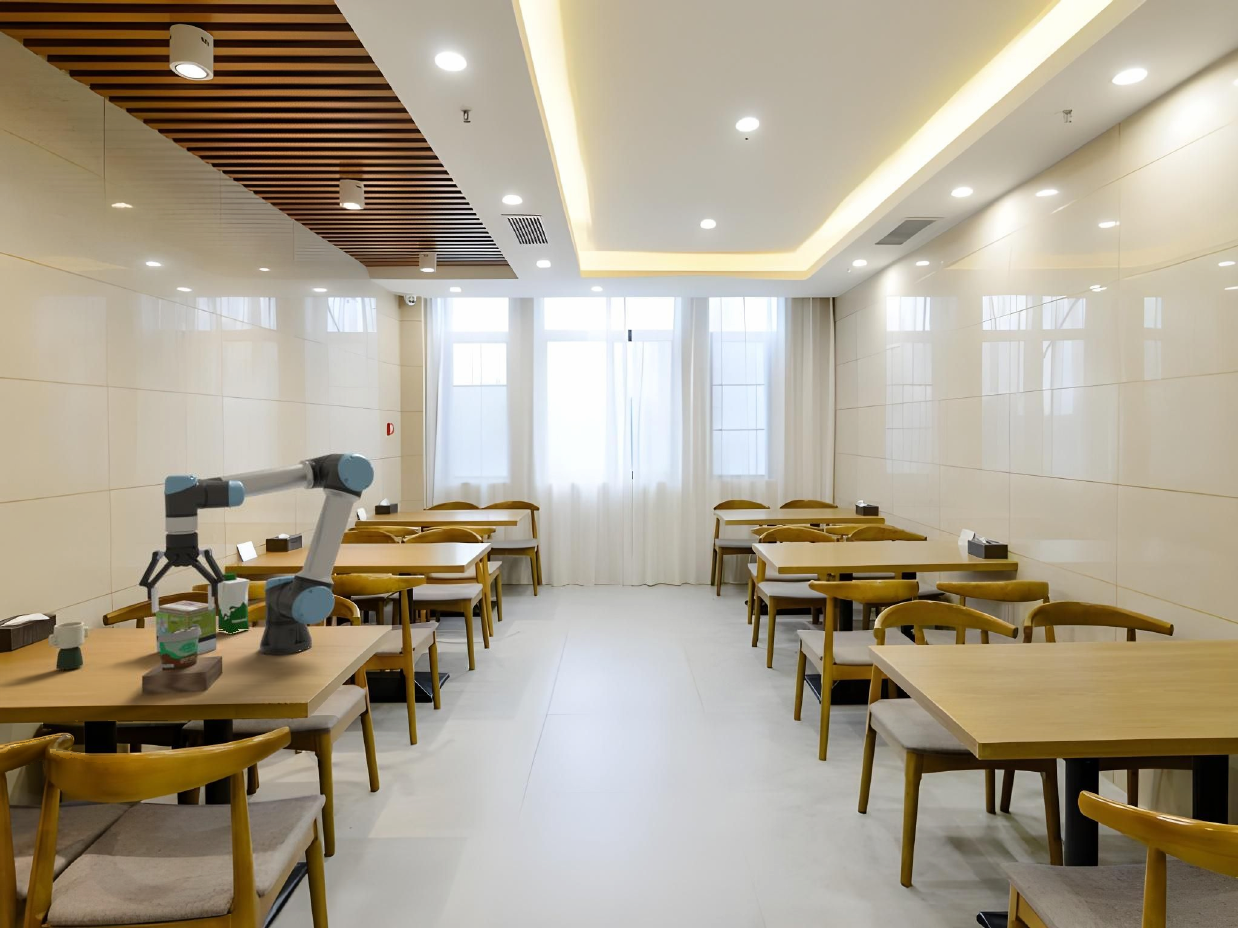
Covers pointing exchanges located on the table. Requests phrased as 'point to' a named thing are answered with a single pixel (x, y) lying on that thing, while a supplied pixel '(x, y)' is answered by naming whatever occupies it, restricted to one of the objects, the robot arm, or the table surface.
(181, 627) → the tea box
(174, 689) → the walnut plinth
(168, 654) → the food container
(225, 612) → the milk carton
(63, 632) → the character mug
